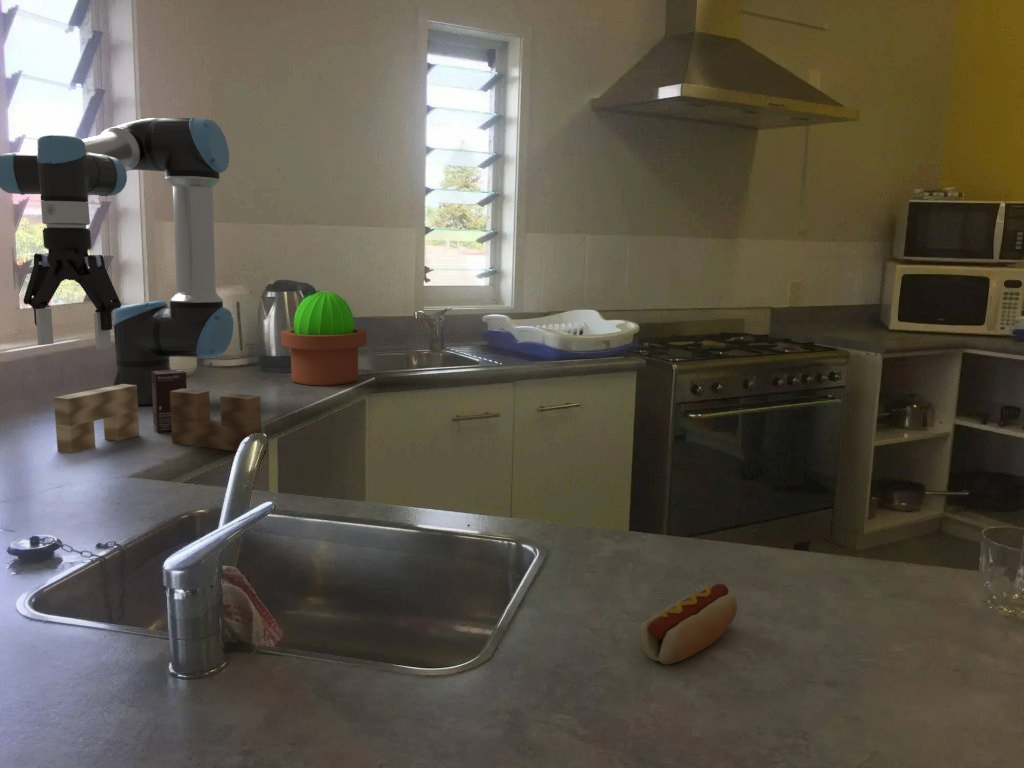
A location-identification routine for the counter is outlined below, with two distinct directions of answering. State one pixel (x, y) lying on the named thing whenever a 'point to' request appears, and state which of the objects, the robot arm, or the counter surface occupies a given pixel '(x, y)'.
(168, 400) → the box
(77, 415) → the arched wooden block
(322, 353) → the potted cactus
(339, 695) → the counter surface
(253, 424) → the notched wooden block
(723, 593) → the food
